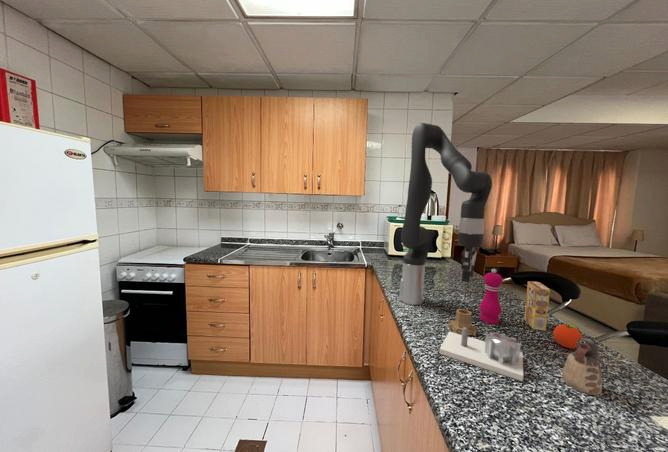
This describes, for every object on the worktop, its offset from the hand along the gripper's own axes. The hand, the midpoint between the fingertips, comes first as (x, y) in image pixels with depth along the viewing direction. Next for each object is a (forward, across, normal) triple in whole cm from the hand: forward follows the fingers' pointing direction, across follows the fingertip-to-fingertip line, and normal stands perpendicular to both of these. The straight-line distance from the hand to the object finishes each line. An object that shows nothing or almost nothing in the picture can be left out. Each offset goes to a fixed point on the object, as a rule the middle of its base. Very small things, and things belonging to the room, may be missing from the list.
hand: (467, 278), depth 92 cm
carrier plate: (+18, +14, +6) cm, 24 cm away
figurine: (+19, +13, +28) cm, 37 cm away
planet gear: (+18, 0, 0) cm, 18 cm away
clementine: (+19, -9, +29) cm, 35 cm away
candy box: (+19, -21, +21) cm, 35 cm away
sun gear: (+17, +14, +12) cm, 25 cm away
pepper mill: (+18, -15, +7) cm, 25 cm away
